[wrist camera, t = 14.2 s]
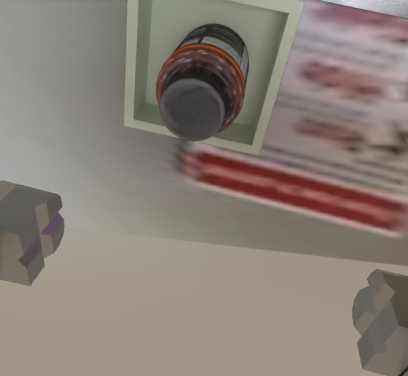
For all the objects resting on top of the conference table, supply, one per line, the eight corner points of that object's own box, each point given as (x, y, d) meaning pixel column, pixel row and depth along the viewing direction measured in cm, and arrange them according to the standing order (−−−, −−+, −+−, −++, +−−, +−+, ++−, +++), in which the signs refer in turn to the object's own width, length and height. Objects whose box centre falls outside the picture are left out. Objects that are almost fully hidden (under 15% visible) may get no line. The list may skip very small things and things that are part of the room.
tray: (300, -7, 27) (304, 2, 23) (260, 132, 34) (258, 155, 31) (147, -39, 27) (128, -35, 24) (139, 105, 34) (123, 125, 31)
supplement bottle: (216, 106, 32) (194, 173, 23) (166, 60, 31) (122, 112, 22) (265, 58, 29) (262, 114, 20) (212, 4, 28) (183, 37, 19)
